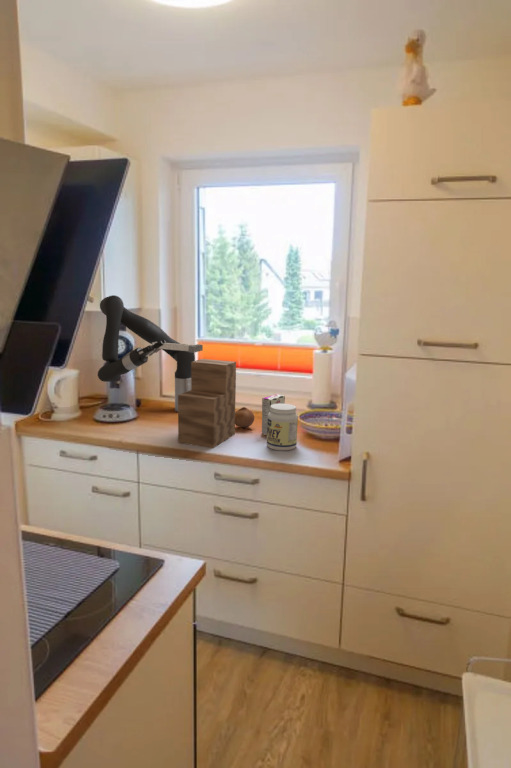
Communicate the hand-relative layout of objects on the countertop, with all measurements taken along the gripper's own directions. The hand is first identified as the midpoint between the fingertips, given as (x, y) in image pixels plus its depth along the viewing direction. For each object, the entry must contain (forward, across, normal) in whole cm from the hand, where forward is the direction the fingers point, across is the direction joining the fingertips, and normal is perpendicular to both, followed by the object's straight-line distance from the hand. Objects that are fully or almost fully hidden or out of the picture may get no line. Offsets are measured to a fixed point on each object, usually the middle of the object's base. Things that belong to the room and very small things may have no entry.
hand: (163, 342), depth 221 cm
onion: (+9, +15, +50) cm, 53 cm away
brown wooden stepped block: (+2, -6, +46) cm, 46 cm away
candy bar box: (+21, +15, +57) cm, 62 cm away
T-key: (+4, 0, +5) cm, 7 cm away
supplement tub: (+30, -2, +62) cm, 69 cm away
